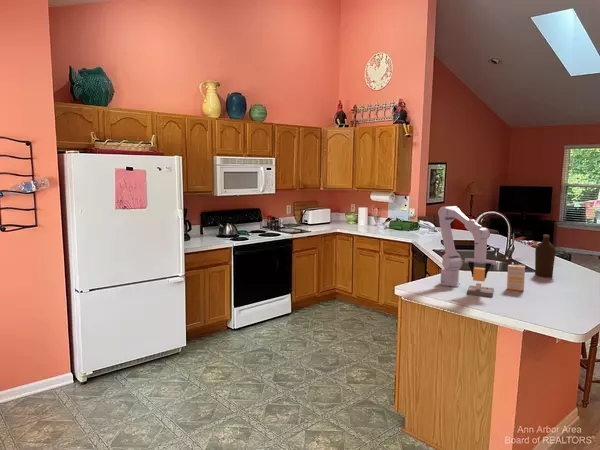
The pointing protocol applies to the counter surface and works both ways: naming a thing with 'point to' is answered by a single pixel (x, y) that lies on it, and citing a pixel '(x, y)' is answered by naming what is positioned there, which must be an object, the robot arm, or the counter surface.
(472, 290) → the breaker panel
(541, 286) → the counter surface
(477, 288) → the switch
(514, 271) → the supplement box
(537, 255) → the olive oil
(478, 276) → the cap
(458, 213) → the robot arm
